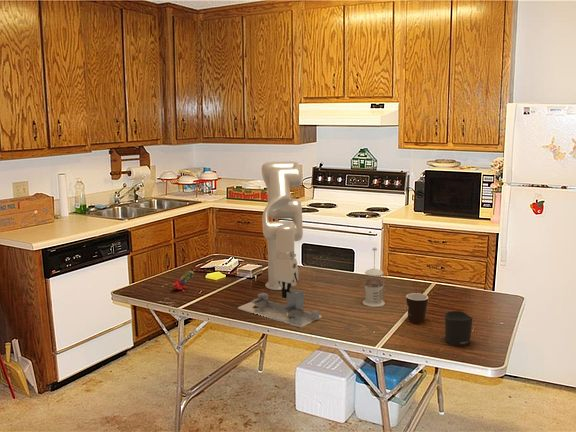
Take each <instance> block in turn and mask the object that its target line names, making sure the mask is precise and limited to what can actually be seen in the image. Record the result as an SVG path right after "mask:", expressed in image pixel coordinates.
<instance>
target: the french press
mask: <svg viewBox="0 0 576 432" xmlns="http://www.w3.org/2000/svg"><path fill="white" fill-rule="evenodd" d="M377 249H378V248H377V247H372V251H373V253H374V255H373V268H369V269H367V270H366V271H364V273H365V275H366V276H369V277H378V278H380V279H376V278H370V279H367V280H365V284H364V299H363V301H362V304H363V305H365V306H367V307H374V308H375V307H376V308H377V307H382V306H384V305H385V303H386V302H385V301H384V300H383V299H384V298H383V297H384V296H383V294H384V293H383V292H384V290H383V289H384V286H385V282H383V280H382V278H383V279H385V276H384V271H382V270H381V269H378V268H375V261H376V260H375V259H376V257H375V256H376V255H375V254H376V251H377Z"/></svg>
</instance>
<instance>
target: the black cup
mask: <svg viewBox="0 0 576 432" xmlns="http://www.w3.org/2000/svg"><path fill="white" fill-rule="evenodd" d="M405 297H406V307H407V320H408V322H409V323H412V324H423V323H425V320H426V314H427V307H428V303H429V296H428V295H426V294H423V293H421V292H420V293H419V292H417V293H416V292H414V293H412V292H411V293H407V294H406V296H405Z"/></svg>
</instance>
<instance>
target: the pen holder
mask: <svg viewBox="0 0 576 432" xmlns="http://www.w3.org/2000/svg"><path fill="white" fill-rule="evenodd" d="M444 315H445V317H444V318H445V321H444V322H445V324H444V337H445V342H446V343H447V344H449V345H451V346H457V347H465V346H466V347H467V346H468V345H469V344H470V343H471V336H472V325H473V316H471V315H469V314H467V313H466V312H463V311H459V310H451V311H448V312H446V313H445V314H444Z"/></svg>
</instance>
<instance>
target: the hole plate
mask: <svg viewBox="0 0 576 432" xmlns="http://www.w3.org/2000/svg"><path fill="white" fill-rule="evenodd" d="M237 309H238V310H241V311H243V312H247V313H250V314H253V313H254V315H256V314H258V315H257V316H260V315H261V316H260V317H263V316H264V317H263V318H266V317H267V319H270V320H274V321H276V322H280V323H282V324H285V325H286V324H287V325H290V326H293V327H297V328H300V329H301V328H303V327H305V326H308V325H309V324H311V323H313V322H316V321H317V320H319V319H321V318H322V315H321V314H319V318H318V319H316V320H312V319H311V318H307V317H304V316H300V315H297V314H293V313H290V312H289V316H287V312H284V311H282V310H279V309H275V308H272V307H268V306H265V305H261V304H258V303H256V307H254V303H252V301H250V302H248V303H245V304H242V305H240V306H238V307H237Z"/></svg>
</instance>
